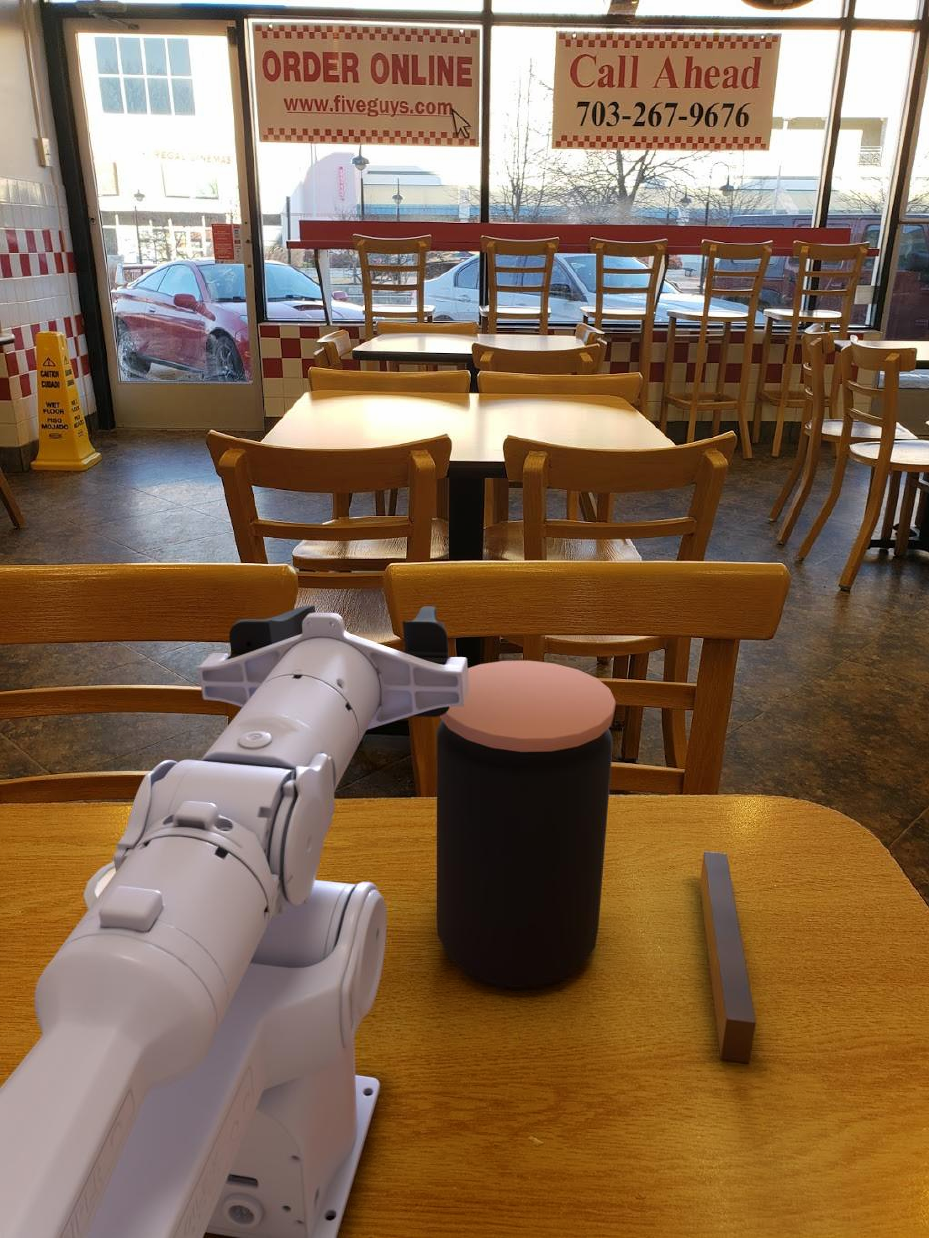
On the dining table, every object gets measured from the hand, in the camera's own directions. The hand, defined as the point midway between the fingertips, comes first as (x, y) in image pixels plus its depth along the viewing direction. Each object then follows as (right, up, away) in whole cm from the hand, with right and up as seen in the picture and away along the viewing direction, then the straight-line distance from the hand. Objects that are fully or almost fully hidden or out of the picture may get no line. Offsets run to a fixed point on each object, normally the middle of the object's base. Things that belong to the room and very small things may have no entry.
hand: (370, 620), depth 58 cm
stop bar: (+22, -22, +2) cm, 32 cm away
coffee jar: (+9, -21, +4) cm, 24 cm away
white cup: (-14, -22, +1) cm, 26 cm away
